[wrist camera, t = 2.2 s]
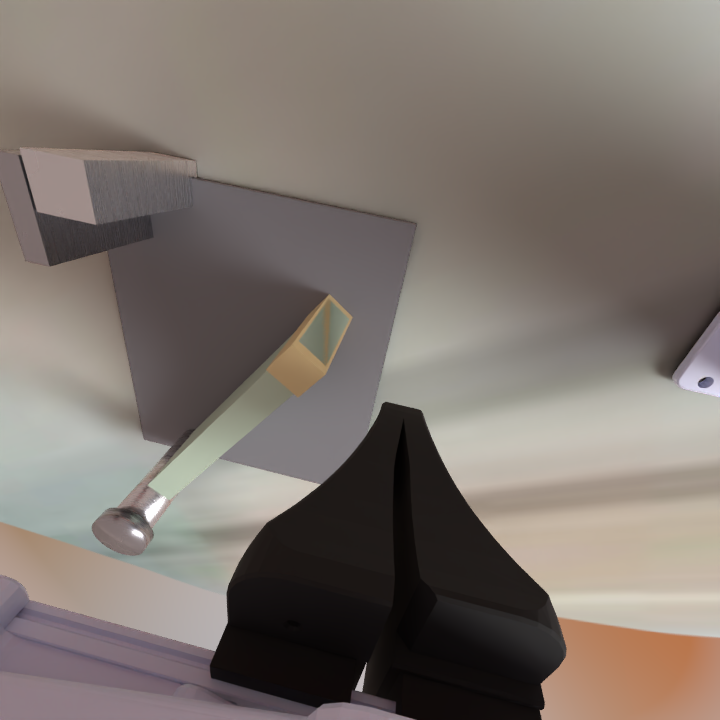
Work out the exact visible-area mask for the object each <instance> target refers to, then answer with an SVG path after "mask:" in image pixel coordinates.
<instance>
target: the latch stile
mask: <svg viewBox="0 0 720 720" xmlns="http://www.w3.org/2000/svg"><path fill="white" fill-rule="evenodd" d="M19 148H20V150H0V181H1V184H2V188H3V191H4V194H5V197H6V200H7V204H8V207H9V210H10V213H11V216H12V219H13V223H14V226H15V229H16V232H17V235H18V239H19V242H20V245H21V248H22V251H23V254H24V258H25V261H28V262H32V263H37V264H41V265H45V266H53V265H57V264H60V263H64V262H67V261H71V260H75V259H78V258H82V257H85V256H89V255H93V254H96V253H100V252H103V251H107V250H111V249H114V248H118V247H121V246H125V245H129V244H132V243H136V242H140V241H143V240H147V239H150V238H153V230H152V222H151V214H156V213H161V212H166V211H171V210H177V209H182V208H187V207H192V206H193V197H192V182H191V179H192V178H197V168H196V161H194V160H189V159H184V158H179V157H174V156H170V155H165V154H160V153H155V152H140V151H113V150H86V149H58V148H31V147H19Z"/></svg>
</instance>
